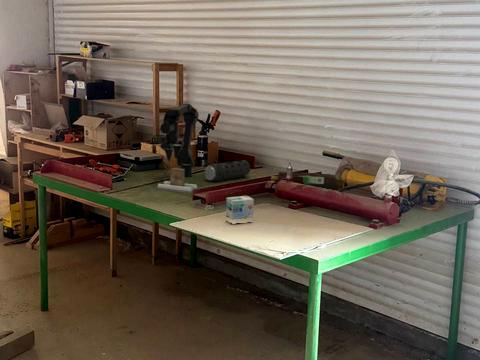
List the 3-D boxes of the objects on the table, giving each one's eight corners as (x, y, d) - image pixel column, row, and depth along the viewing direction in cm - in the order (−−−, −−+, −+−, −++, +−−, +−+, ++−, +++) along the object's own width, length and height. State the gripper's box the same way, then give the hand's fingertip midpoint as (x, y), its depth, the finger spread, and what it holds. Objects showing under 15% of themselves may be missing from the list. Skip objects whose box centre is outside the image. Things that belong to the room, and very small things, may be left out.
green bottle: (269, 192, 314) (270, 173, 312) (270, 187, 324) (271, 170, 322) (343, 195, 311) (344, 177, 309) (341, 191, 321) (342, 173, 319)
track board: (166, 185, 321) (166, 180, 320) (197, 189, 314) (197, 184, 314) (156, 189, 311) (156, 184, 310) (189, 193, 304) (189, 188, 304)
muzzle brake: (250, 178, 346) (250, 161, 344) (214, 184, 328) (214, 166, 325) (239, 175, 353) (240, 158, 351) (203, 181, 334) (203, 163, 332)
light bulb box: (231, 225, 252) (232, 201, 250) (225, 220, 258) (225, 197, 256) (253, 222, 257) (254, 198, 255) (246, 218, 263) (247, 195, 260)
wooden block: (173, 186, 315) (173, 167, 313) (184, 187, 313) (184, 169, 311) (169, 187, 311) (170, 169, 309) (180, 188, 309) (181, 170, 307)
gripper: (166, 128, 333) (166, 155, 336) (152, 132, 316) (151, 160, 319) (184, 130, 330) (184, 157, 333) (170, 133, 312) (170, 162, 316)
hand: (172, 159), depth 325 cm, fingers open, 9 cm apart
